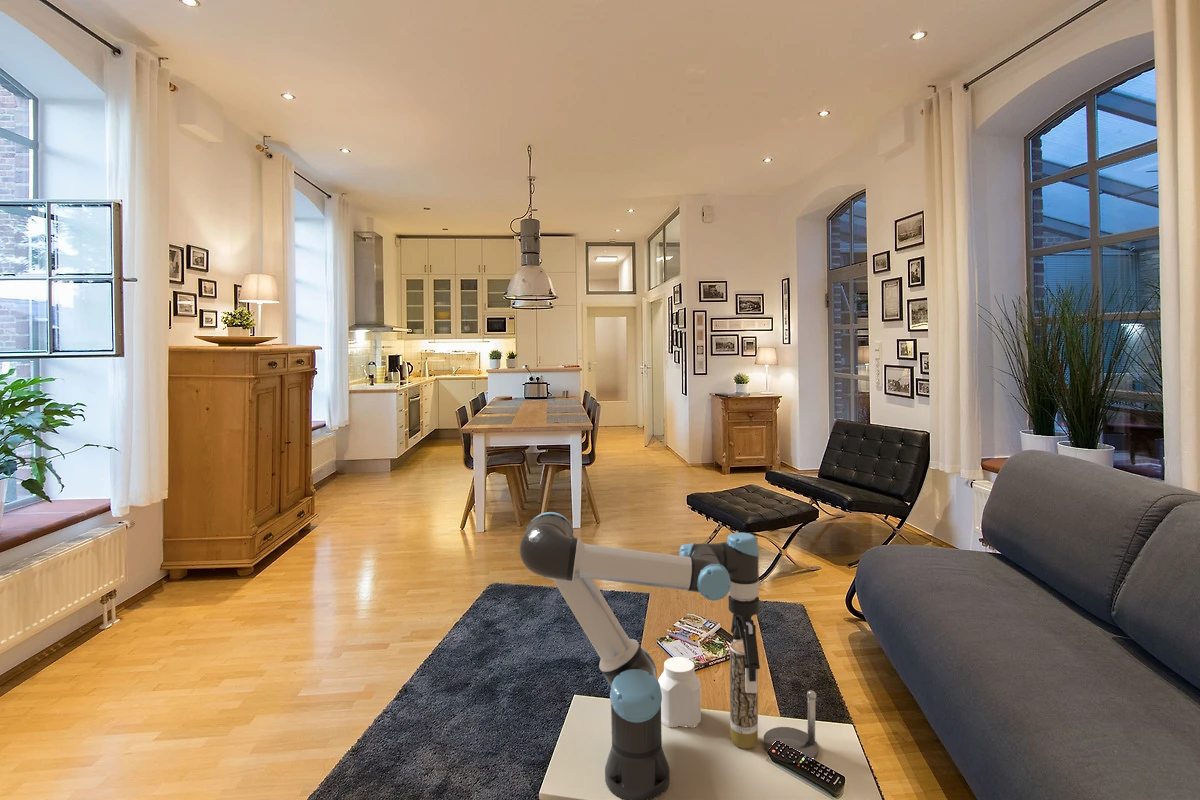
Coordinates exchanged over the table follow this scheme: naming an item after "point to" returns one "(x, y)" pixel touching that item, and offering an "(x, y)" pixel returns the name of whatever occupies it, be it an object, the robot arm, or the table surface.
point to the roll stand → (796, 733)
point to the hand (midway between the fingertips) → (744, 677)
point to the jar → (680, 693)
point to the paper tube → (742, 701)
